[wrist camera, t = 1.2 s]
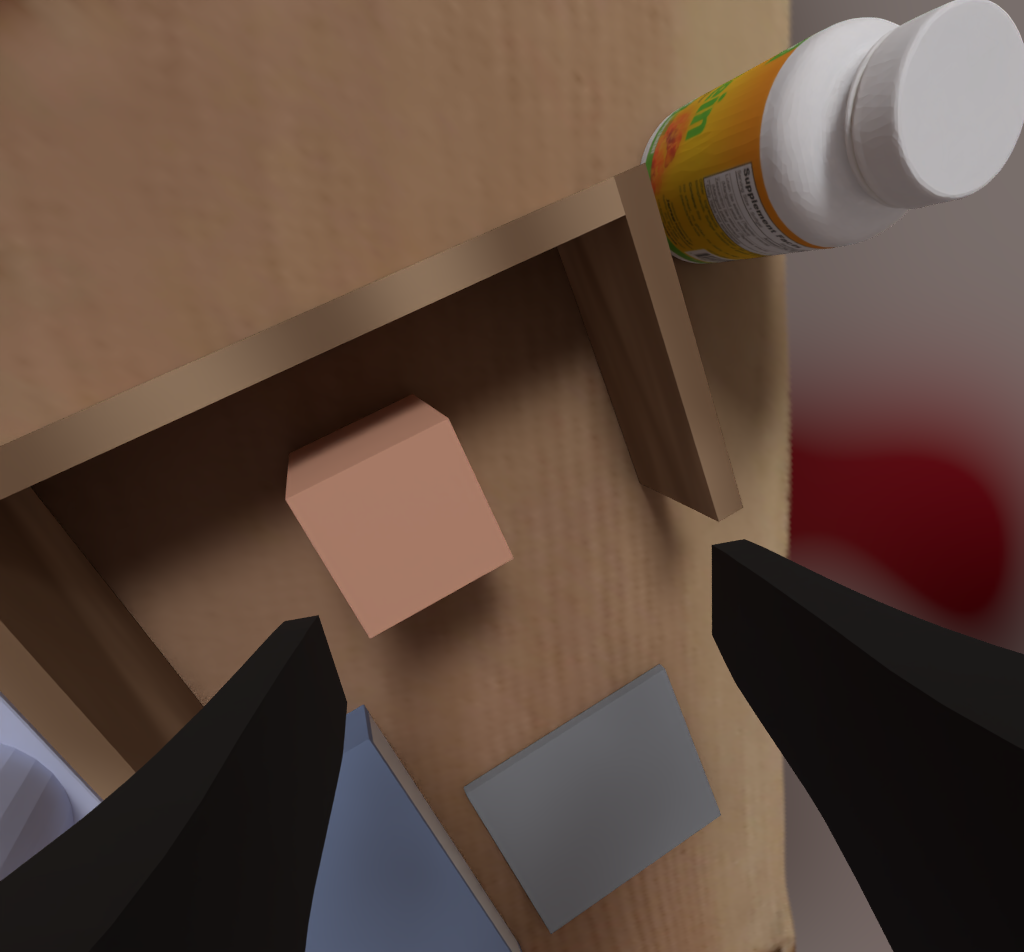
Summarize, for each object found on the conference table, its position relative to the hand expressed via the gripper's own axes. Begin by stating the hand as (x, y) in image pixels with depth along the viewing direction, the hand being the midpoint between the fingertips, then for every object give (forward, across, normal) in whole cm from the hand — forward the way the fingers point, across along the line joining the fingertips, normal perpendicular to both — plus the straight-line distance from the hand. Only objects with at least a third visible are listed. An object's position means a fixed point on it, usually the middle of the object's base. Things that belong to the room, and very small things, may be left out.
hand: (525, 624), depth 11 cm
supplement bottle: (+15, -9, -7) cm, 19 cm away
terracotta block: (+11, +4, +1) cm, 11 cm away
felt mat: (+10, -3, +18) cm, 21 cm away
